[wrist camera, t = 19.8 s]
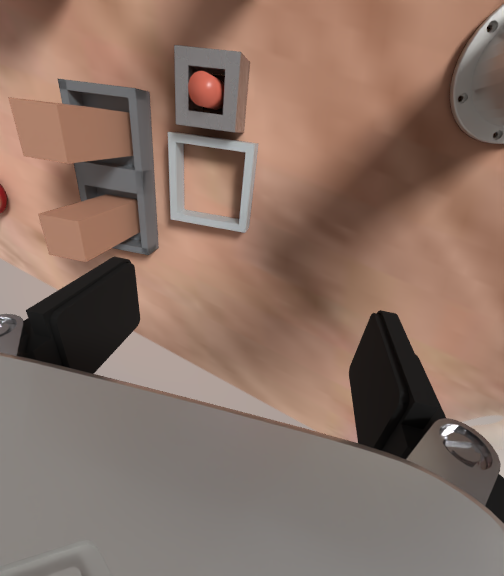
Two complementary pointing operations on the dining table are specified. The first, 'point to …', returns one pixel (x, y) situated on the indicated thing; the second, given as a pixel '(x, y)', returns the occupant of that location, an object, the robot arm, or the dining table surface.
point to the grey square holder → (234, 88)
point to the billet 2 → (90, 226)
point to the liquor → (2, 199)
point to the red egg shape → (206, 90)
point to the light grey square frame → (177, 180)
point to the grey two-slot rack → (123, 170)
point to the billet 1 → (71, 131)
